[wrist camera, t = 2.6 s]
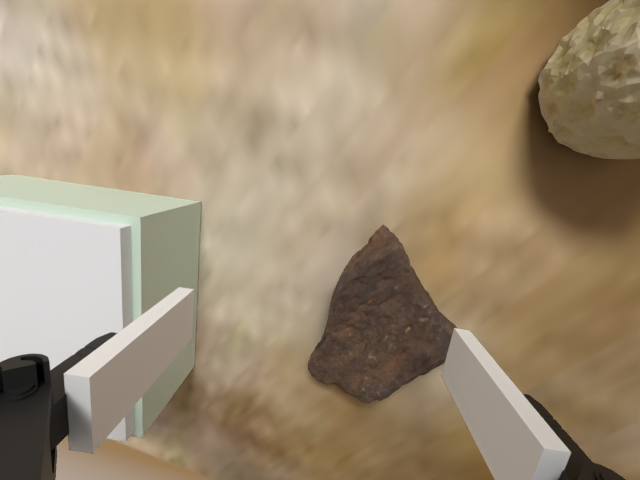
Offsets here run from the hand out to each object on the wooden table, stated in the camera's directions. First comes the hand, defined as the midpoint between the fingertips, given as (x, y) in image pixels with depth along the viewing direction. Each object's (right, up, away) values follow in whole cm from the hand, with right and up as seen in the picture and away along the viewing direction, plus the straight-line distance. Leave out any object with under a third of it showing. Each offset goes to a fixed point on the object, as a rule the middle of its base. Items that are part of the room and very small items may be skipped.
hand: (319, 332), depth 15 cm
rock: (0, +3, +8) cm, 8 cm away
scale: (-17, +2, +9) cm, 19 cm away
